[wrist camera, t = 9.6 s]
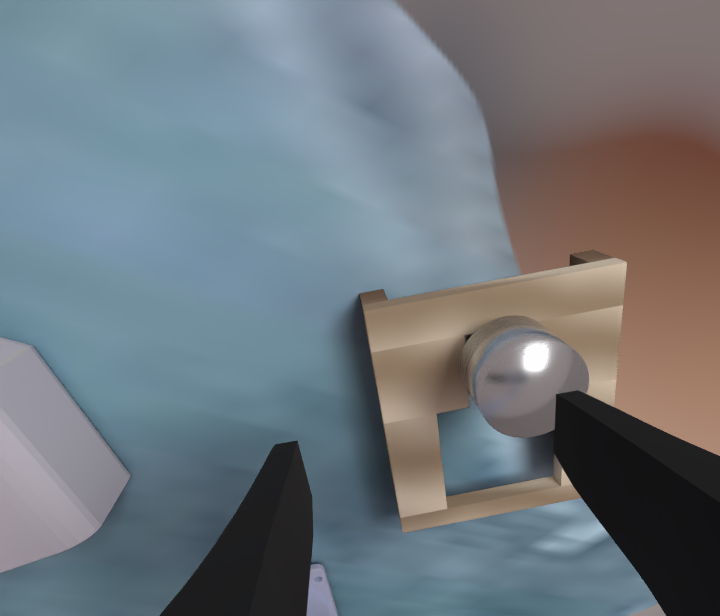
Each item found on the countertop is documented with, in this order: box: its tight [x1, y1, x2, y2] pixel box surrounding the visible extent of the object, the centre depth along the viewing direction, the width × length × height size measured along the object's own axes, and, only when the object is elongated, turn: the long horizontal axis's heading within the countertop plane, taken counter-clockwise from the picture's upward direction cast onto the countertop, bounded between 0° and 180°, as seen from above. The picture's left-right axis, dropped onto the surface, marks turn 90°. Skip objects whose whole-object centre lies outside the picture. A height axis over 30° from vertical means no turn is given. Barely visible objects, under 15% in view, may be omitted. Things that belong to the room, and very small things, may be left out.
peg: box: [459, 315, 589, 438], centre depth 18 cm, size 5×5×6 cm
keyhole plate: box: [360, 250, 627, 533], centre depth 21 cm, size 14×12×2 cm
